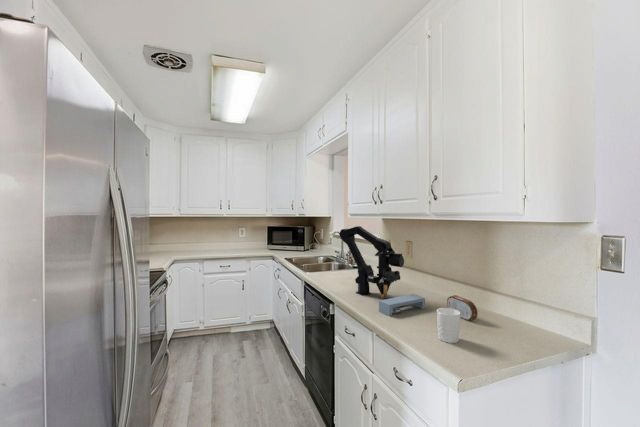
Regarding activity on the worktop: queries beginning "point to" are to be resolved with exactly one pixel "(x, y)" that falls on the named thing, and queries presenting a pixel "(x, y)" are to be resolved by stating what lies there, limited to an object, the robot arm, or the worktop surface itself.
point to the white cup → (448, 324)
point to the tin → (463, 307)
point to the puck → (396, 310)
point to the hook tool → (386, 293)
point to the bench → (400, 303)
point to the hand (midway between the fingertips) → (383, 293)
